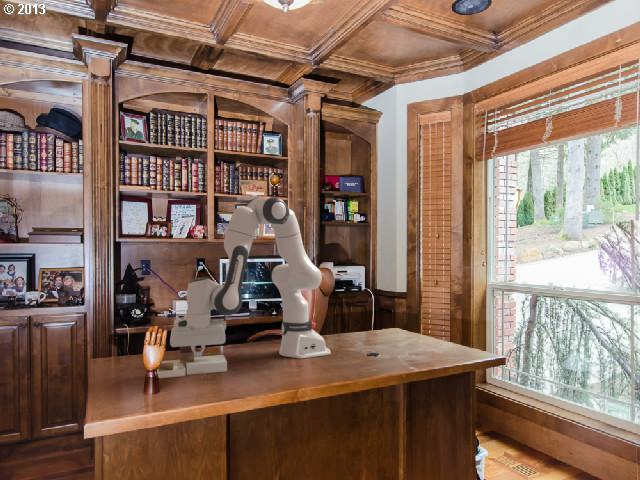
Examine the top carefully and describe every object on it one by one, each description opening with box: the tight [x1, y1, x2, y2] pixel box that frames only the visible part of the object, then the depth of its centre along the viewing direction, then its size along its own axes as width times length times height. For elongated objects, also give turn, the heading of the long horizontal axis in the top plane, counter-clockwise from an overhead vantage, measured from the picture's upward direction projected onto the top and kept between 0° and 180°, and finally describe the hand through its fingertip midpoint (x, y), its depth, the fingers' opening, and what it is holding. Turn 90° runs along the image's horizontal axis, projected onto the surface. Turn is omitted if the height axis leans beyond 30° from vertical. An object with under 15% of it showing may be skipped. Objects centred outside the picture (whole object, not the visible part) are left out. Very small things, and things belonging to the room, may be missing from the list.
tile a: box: [179, 353, 194, 364], centre depth 166 cm, size 5×4×2 cm
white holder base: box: [184, 354, 228, 376], centre depth 169 cm, size 14×11×4 cm
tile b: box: [159, 363, 173, 371], centre depth 164 cm, size 5×4×2 cm
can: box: [179, 346, 197, 355], centre depth 179 cm, size 6×6×14 cm
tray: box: [157, 359, 186, 379], centre depth 165 cm, size 10×14×2 cm
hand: (197, 356), depth 168 cm, fingers closed
